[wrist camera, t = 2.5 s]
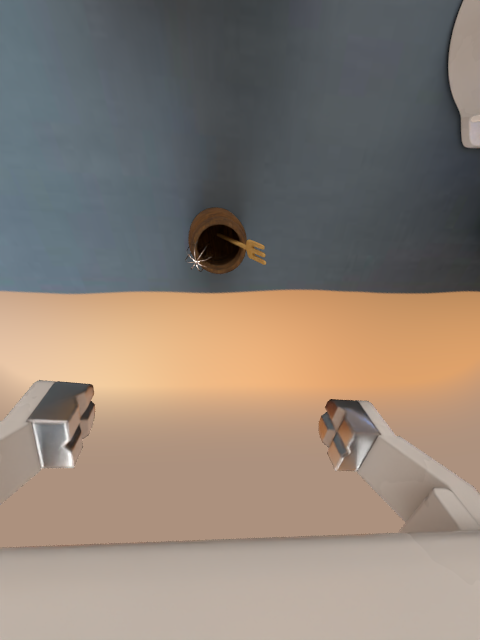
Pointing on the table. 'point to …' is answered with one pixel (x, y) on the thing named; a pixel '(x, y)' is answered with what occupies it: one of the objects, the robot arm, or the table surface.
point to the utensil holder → (220, 241)
